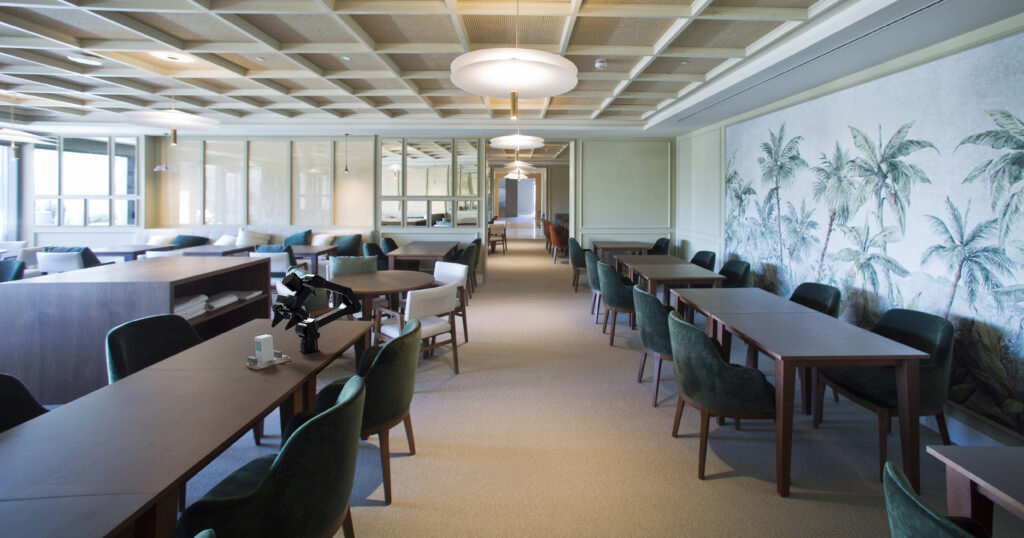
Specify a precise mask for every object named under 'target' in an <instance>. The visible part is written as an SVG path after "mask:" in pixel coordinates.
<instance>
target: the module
mask: <svg viewBox="0 0 1024 538" xmlns="http://www.w3.org/2000/svg"><path fill="white" fill-rule="evenodd" d="M273 337H274V336H273V335H271V334H261V335H257V336H254V347H255V358H257V360H258V361H259V362H267V361H270V360H274V350H275V349H274V339H273Z"/></svg>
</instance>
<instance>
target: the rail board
mask: <svg viewBox="0 0 1024 538" xmlns="http://www.w3.org/2000/svg"><path fill="white" fill-rule="evenodd" d="M273 350H274V360H270V361H267V362H259V361H258V360H257V358H256V356H252V355H251V356H247V358H246V361H247V363H245V367H246V368H250V369H253V370H261V369H265V368H267V367H272V366H275V365H278V364H281V363H285V362H289V361H291V356H289V355H286V354H283V351H281V350H276V349H273Z"/></svg>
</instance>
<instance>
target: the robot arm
mask: <svg viewBox="0 0 1024 538" xmlns="http://www.w3.org/2000/svg"><path fill="white" fill-rule="evenodd" d="M281 284H282V285H283V286H284V287H285V288H286V289H288V290H289V291H290V292H292V293H294V294H293V295H292V294H287V295H284V294H283V295H282V294H278V295H277V297H276V300H275V303H274V304H273V305H272V306H271V311H272V312H273V318H272V322H271V325H270V327H271V328H272V329H273V328H275V327H276V326H278V325H279V324H280V323H281V322H282V321H283V320H284V319H286V317H287V316H288V314H290V318H289V319H288V321H287V324H286V326H285V327H284V330H285V331H289V329H291V328H293V327H294V332H295V334H296V335H297V336H298V338H299V339H300V350H299V353H301V354H305V355H309V354H313V353H318V352H320V351H321V349H320V348H319V343H318V342H319V341H318V340H319V339H320V337H321V333H320V332H319V331H318V330H319V329H321V328H323V327H325V326H327V325H329V324H330V323H332V322H333V323H334V321H336V320H339V319H340V318H342V317H344V316H348V315H349V316H350V315H354V314H359V312H361V309H362V303H361V302H360V300H359V297H357V296H356V294H355V293H354V292H353V289H352V287H348V286H344V285H342V284H338V283H336V282H332V281H329V280H327V279H326V278H325V277H322V275H319V274H313V273H308V274H306V275H305V276H304V277H300V276H299V275H298V274H297V273H296V272H293V271H292V272H291V273H289V274H287V275H286V276H284V277H283V278H282V280H281ZM312 288H315V289H323V290H327V291H331V292H334V293H337V294H340V295H341V304H340V305H339V307H337V308H335V309H332V310H330V311H329V312H327V313H324V314H322V315H319V316H318V317H316V318H310V313H309V312H308V311H307V310H306V309H304V308H303V307H306V306H307V303H306V302H307V301H308V300H309V298H310V296H311V297H312V296H313V297H315V296H316V295H317V294H316V293H317V292H316V290H315V289H312Z"/></svg>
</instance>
